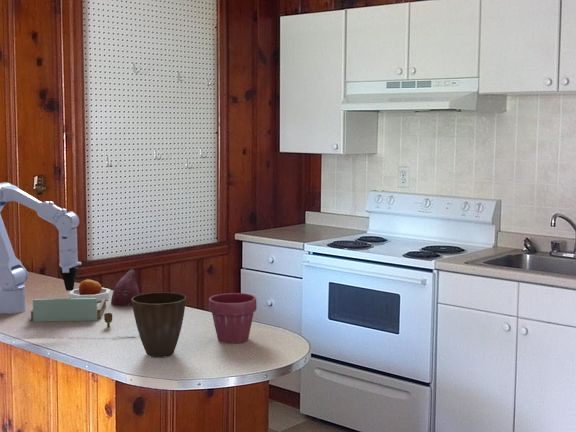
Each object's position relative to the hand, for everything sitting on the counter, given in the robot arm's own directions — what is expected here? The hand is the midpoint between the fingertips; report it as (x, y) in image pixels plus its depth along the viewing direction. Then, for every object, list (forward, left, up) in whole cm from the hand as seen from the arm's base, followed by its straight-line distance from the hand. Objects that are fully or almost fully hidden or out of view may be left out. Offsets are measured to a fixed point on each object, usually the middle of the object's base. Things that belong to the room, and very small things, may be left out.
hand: (69, 290), depth 259 cm
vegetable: (+17, +13, -9) cm, 24 cm away
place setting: (+25, -16, -10) cm, 31 cm away
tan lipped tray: (0, -1, -9) cm, 9 cm away
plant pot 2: (+52, -33, -9) cm, 62 cm away
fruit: (+3, +27, -9) cm, 29 cm away
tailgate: (0, -9, -8) cm, 12 cm away
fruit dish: (+3, +27, -9) cm, 29 cm away
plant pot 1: (+31, -45, -9) cm, 55 cm away
